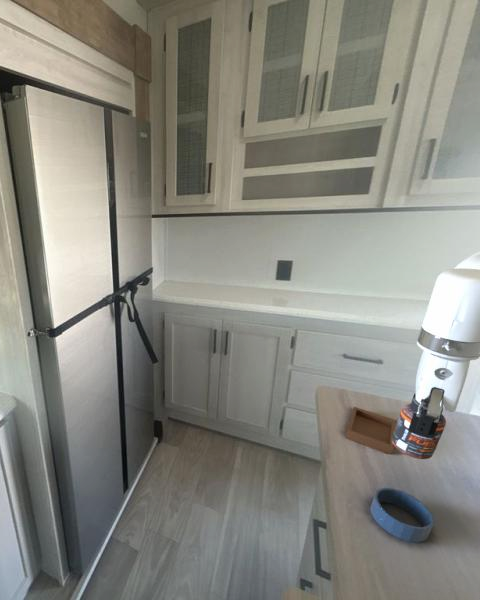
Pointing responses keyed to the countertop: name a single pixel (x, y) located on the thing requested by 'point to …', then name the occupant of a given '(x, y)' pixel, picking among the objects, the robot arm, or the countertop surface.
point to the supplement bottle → (411, 441)
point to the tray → (371, 430)
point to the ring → (395, 525)
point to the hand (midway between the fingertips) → (420, 422)
